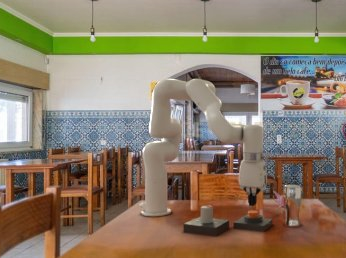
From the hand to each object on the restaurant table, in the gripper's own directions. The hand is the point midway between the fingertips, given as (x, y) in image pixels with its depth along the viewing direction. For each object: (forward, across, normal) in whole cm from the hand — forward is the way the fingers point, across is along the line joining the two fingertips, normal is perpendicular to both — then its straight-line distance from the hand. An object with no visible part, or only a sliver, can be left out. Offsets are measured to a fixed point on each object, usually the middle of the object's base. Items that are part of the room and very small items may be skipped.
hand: (252, 205), depth 134 cm
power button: (+5, 0, 0) cm, 5 cm away
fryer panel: (+8, +14, +11) cm, 19 cm away
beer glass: (+8, -14, -8) cm, 18 cm away
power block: (+8, 0, 0) cm, 8 cm away
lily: (+8, -6, -23) cm, 25 cm away
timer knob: (+5, +14, +11) cm, 18 cm away
